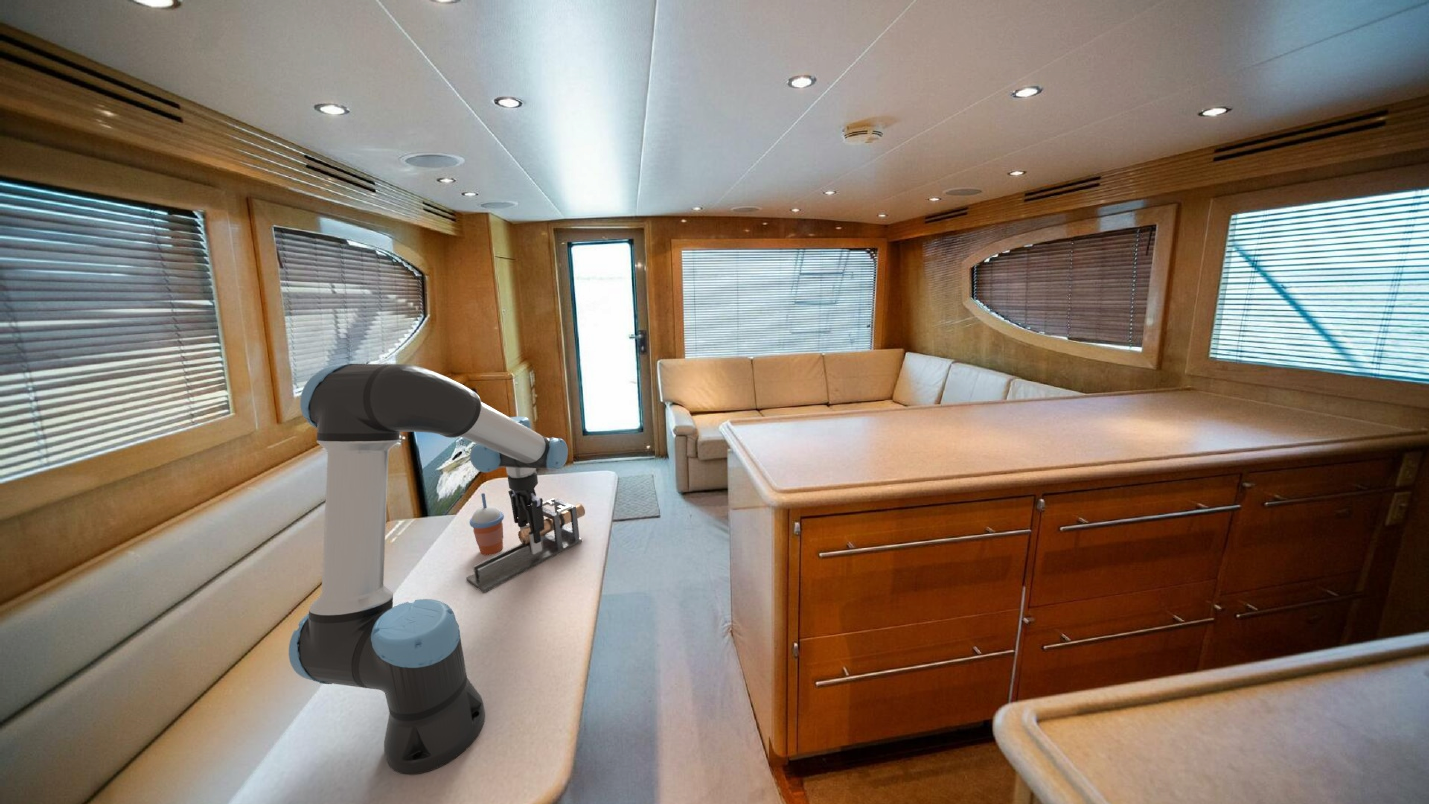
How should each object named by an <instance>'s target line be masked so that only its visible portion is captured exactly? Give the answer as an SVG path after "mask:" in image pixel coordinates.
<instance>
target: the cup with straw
mask: <svg viewBox="0 0 1429 804" xmlns="http://www.w3.org/2000/svg"><path fill="white" fill-rule="evenodd" d="M485 493H486V492H483V493H481V494H480V495H481V502H482V507H479V508H477V509H476V510H475V511H474V513H473V515H472V516H471V518H470V519H469V525H470V527H471V528H473V534H474V538H475V542H476V545H477V546H478V549H479V552H480V555H482V556H492V555H495V554H496V555H497V554H498V553H499V552H501V551H502V550H503V548H504V542H503V541H504V540H503V539H504V524H503V520H504V518H505V515H504V513H503V511H501V510H500V509H498V508H497V507H496V506H493V505H487V500H486V495H485Z"/></svg>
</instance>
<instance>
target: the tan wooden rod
mask: <svg viewBox="0 0 1429 804" xmlns="http://www.w3.org/2000/svg"><path fill="white" fill-rule="evenodd" d="M574 506H576V510H577V519H580V518H582V517H584V516H585V515H586V509H585V507H584V505H582V503H577V504H575V505H574ZM559 521H560V528H561V527H563V526H566V525H567V524H570V523H571V514H570V512H569V511H567V510H566V511H564V512H562V513H560V514H559ZM529 532H531V530H530V526H529V527H527V528H525V529H523V530H521V531H520V530H519V531H518V532H517V536H518V539H519V541H520V544H527V543H529V542H530V535H529ZM551 532H554V527H553V520H552V519H550V518H547V517H546V518H544V530H542V531H540V537H541V536H543V535H545V534H549V533H551Z"/></svg>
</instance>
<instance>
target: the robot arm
mask: <svg viewBox="0 0 1429 804" xmlns="http://www.w3.org/2000/svg"><path fill="white" fill-rule="evenodd" d="M299 404H300V405H299V406H300V412H301V414H302V417H303V418H305V419H306V420H307V423H308V424H309V425H310V426H312V427H313V428H314V429H316V444H319V445H320V446H321V447H322V448H323V449H324V450H325V451H326V452H327V457H326V458H327V462H326V481H325V482H326V483H325V484H326V485H325V505H324V506H325V507H324V526H323V527H324V528H323V529H324V530H323V548H322V549H323V550H322V551H323V553H322V555H323V556H322V572H321V573H322V575H321V593H320V595H319V597H317V598H316V599H315V600H314V601H312V603H311V604H310V605H309V607H308V608H309V609H308V613H307V614H305V616H304V617H303V618H302V619H301V620H300V621H299V623H298V624H297V626H299V627H298V628H297V629H296V630H294V631H293V632H292V635H291V637H290V640H289V643H288V659H289V663H290V665H291V668H292V669H293V671H294V672H295V673H296V674H297V675H298V676H300V677H302V678H304V679H306V680H311V681H313V682H317V683H319V684H323V685H333V684H334V685H340V686H349V687H355V688H363V689H369V690H370V689H371V690H378V691H382V692H383V693H384V695H385V699H386V703H387V708H388V713H389V714H388V720H387V725H386V729H385V730H386V731H385V736H384V741H383V750H384V755H385V758H386V759H385V760H386V762H387V764H388V766H389V767H390V768H391V769H392V770H394V771H395V772H397V773H399V774H405V775H418V774H422V773H423V774H424V773H427V772H431V771H433V770H435V769H438V768H440V767H442V766H444V765H446V764H448V763H449V762H451V761H453V760H454V759H456V758H457V757H458V756H460V755H461V754H462V753H463V752H465V751H466V748H467V749H468V748H469V747H470V746H471V745H472V743H474V741H475V740H476V739H477V737H478V736H479V734H480V732H481V730H482V728H483V727H484V725H485V724H484V723H485V719H486V712H485V705H484V700H483V698H482V696H481V694H480V693H479V692H478V690H477V689H476V688H475V686H474V685H473V683H471V681H470V680H469V678H468V676H467V669H466V663H465V657H464V651H463V643H462V640H461V630H460V625H459V623H458V621H457V619H456V616H455V613H454V611H453V609H452V607H450V606H449V605H448V604H447V603H444V602H443V601H440V600H437V599H432V598H431V599H430V598H423V599H422V598H421V599H415V600H414V601H413V602H409V601H407V602H403V603H400V604H398V605H395V606H393V605H394V604H393V603H394V601H393V600H394V592H393V591H392V590H391V589H390V588H388V587H387V586H385V584H384V580H385V575H384V574H385V556H386V555H385V552H386V527H387V526H386V524H387V503H388V502H387V501H388V499H387V497H388V478H389V477H388V475H389V452H390V450H391V449H392V448H393V447H395V445H398V443H399V442H400V432H404V433H406V432H408V433H411V432H414V433H415V432H416V433H429V434H436V435H440V436H442V437H445V438H450V439H454V438H459V437H461V438H462V439H465V440H467V441H470V442H472V443H475V445H474V446H472V448H471V450H470V452H469V459H470V463H471V464H472V467H473V468H475V470H477V471H479V472H481V473H490V472H493V471H495V470H498V469H499V468H505V470H506V475H507V482H508V488H509V490H508V495H509V498H510V504H511V510H512V515H513V516H512V517H513V522H514V523H515V524H517V526H518V528H519V531H521V530H523V529H525V528H527V527H529V526H530V530H531V532H529V535H530V543H531V550H532V554H533V555H534V554H536V553H538V552H540V551H542V546H541V538H540V531H542V530H544V519H545V518H544V519H543V509H542V504H543V502H544V500H543V498H542V497H539V498H538V497H537V493H536V490H535V488H536V486H537V485H538V483H539V480H538V471H536V470H537V469H545V470H559V469H561V468H563V467H564V466H565V464H566V462H567V460H568V455H569V449H568V445H567V443H566V441H565V440H564V439H562V438H557V437H553V436H552V437H546V436H544V435H542V434H540V433H538V432H536V431H535V430H533V429H532V424H531V421H530V418H528V417H526V416H508V415H506V414H505V413H504V414H503V412H500V411H498V410H497V409H495V408H493V407H491V406H490V405H487V403H484V402H482V399H481V398H480V396H479V395H478V394H477V393H476V391H474V390H472V389H471V388H469V387H467V386H465V385H463V384H462V383H460V382H457V381H455V380H453V379H451V378H450V377H447V376H445V375H443V374H441V373H438V372H436V371H433V370H431V369H429V368H425V367H422V366H418V365H413V364H409V363H408V364H407V363H395V364H393V363H391V364H387V363H386V364H385V363H381V364H380V363H347V364H338V365H336V364H335V365H331V366H326V367H325V368H323V369H321V370H319V371H318V372H316V373H315V374H314V375H311V377H310V378H309V379H308V380H307V382H306V383H305V385H304V387H303V389H302V391H301V395H300V399H299ZM455 757H456V758H455Z"/></svg>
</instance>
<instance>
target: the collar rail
mask: <svg viewBox="0 0 1429 804" xmlns="http://www.w3.org/2000/svg"><path fill="white" fill-rule="evenodd" d="M544 506H550V507H553V506H554V510H551V509H548V508H546V507H544ZM542 509H543V519H545V518H546V519H547V518H550V519H552V520H553V527H554V530H553V533H554V534H553V535H550V534H549V533H547V534H545V535H543V536H541V537H540V538H541V546H542V551H540V552H538V553H536V554H534V555H533V554H532V550H531V543H530V542H529V543H527V544H522V543H520V544H518V545H515V546H514V547H511V548H509V549H507V550H505V551H503V552H501V553H499V554H498V553H497V554H496V555H495V556H492V557H490V558H488V559H486V560H484V561H481V562H479V563H478V564H476V565H473V567H472V568H473V572H474V573H472V574H471V575H468V576H466V577H465V578H466V582H468V583H469V584H471V585H472V586H473V587H474V588H476V590H477V589H478V590H479V591H480V592H481V593H484V594H485V593H486V592H488V591H490V590H492V589H494V588H496V587H498V586H500V585H501V584H504V583H505V582H508V581H510V580H511V579H513V578H516V577H517V576H519V575H521V574H523V573H525V572H527V571H529V570H531V569H533V568H534V567H536V566H538V565H540V564H542V563H544V562H546V561H548V560H550V559H551V558H553V557H555V556H557V555H560V554H562V553H563V552H565V551H567V550H569V549H571V548H572V547H576V545H579V544H580V543H582V542H583V539H582V538H581V537H580V530H579V522H578V519H579V518H578V519H577V510H576V506H575V505H574V504H572V503H569V502H566V501H565V500H562V499H559V498H556V499H555V497H554V498H550V499H547V500H545V501H543V504H542ZM566 510H567V511H569V512H570V514H571V522H570V523H571V528H570V527H568V526H566V525H564V526H563V527H561V528H560V521H559V514H560V513H562V512H564V511H566Z"/></svg>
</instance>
